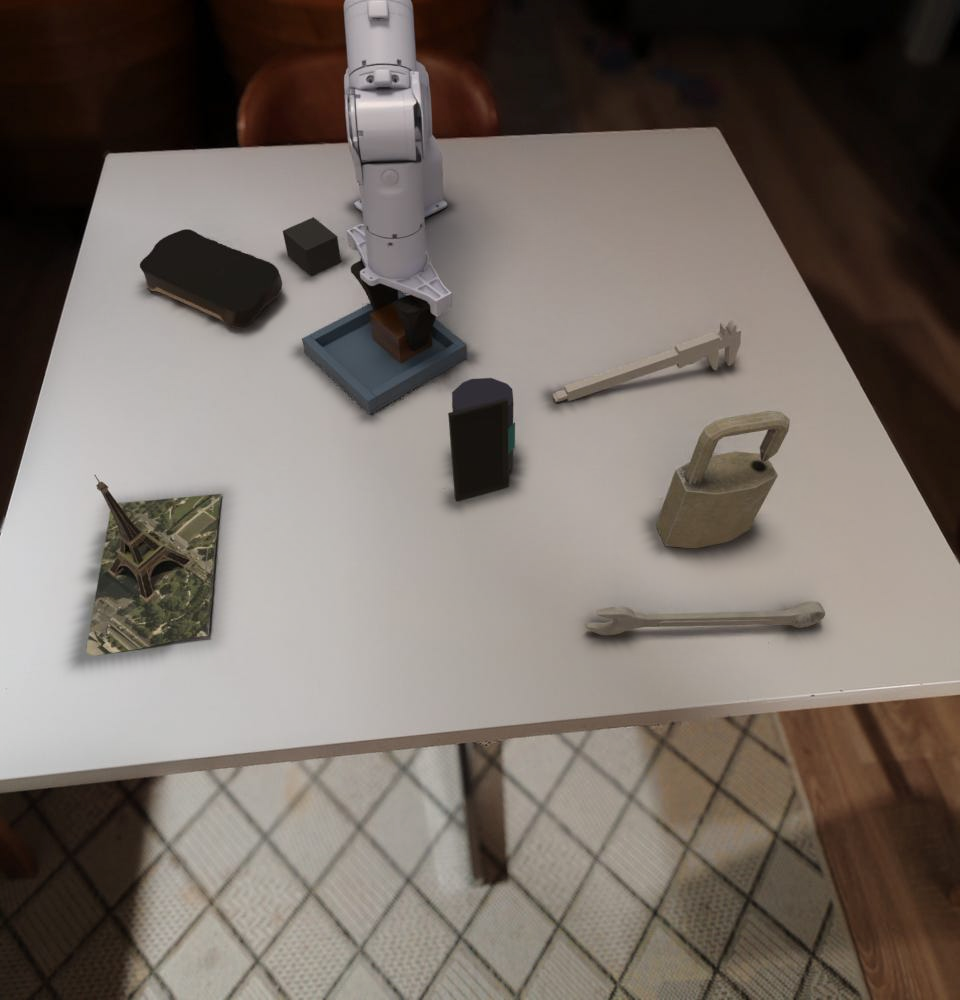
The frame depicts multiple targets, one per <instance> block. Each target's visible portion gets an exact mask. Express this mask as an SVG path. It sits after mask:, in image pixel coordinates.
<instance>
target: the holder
mask: <svg viewBox="0 0 960 1000" xmlns="http://www.w3.org/2000/svg"><path fill="white" fill-rule="evenodd" d="M407 295H408V294H406V293H405V292H402V291H400V290H398V299H399V298H401V297H405V296H407ZM373 312H374V311H373V308H372V306H371V303H370V302H369V303H368V304H366V305H364V306H362V307H360V308H358V309H357V310H355V311H353V312H350V313H349V314H347V315H345V316H343V317H341V318H339V319H337V320H335V321H333V322H331V323H329V324H327V325H325V326H323V327H321V328H319V329H318V330H315V331H314V332H311V333H310V334H308V335H306V336H304V337H302V338H301V341H302V346H303V352H304V354H305V355H306V356H308V357H309V358H310V359H311V360H312V361H313V362H314V363H315V365H317V366H318V367H319V368H320V369H321V370H322V371H323V372H324V373H325V374H327V375H328V376H329V378H331V379H332V380H333V381H334V382H335V383H336V384H337V385H338V386H339V387H340V388H341V389H342V390H343V391H344V392H346V394H348V396H350V397H351V398H352V400H354V401H355V402H356V403H357V404H358V405H359V406H360V407H361V408H362V409H363V410H364V411H365V412H366V413H367V414H368V415H372V414H374V413H376V412H377V411H379V410H380V409H382V408H384V407H386V406H387V405H390V404H391V403H393V402H394V401H397V400H398V399H400V398H401V397H403V396H405V395H406V394H408V393H410V392H411V391H413V390H415V389H417V388H418V387H421V386H422V385H423V384H425V383H427V382H429V381H430V380H432V379H433V378H435V377H438V376H439V375H440V374H442V373H444V372H446V371H447V370H449V369H451V368H452V367H454V366H456V365H457V364H459V363H461V362H463V361H465V360H466V359H467V358H468V344H467V343H466V342H465V341H463V340H462V339H461V338H460V337H459V336H457V335H456V334H455V333H454V332H452V331H451V330H450V329H449V328H447V327H446V326H445V325H444V324H442V323H441V322H440V321H439V320H438V319H437V318H436V319H435V322H434V325H433V327H432V344H433V346H431V347H430V348H428V349H426V350H424V351H422V352H421V353H419V354H417V355H415V356H414V357H412V358H410V359H408V360H407V361H405V362H403V363H401V364H400V363H399V362H398V361H397V360H396V359H395V358H394V357H392V356H391V355H390V354H389V353H388V352H387V351H386V350H384V349H383V348H382V347H381V346H380V345H379V344H378V343H376V342H375V341H374V340H373V335H372V327H371V319H370V314H371V313H373Z"/></svg>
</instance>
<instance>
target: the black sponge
mask: <svg viewBox="0 0 960 1000" xmlns="http://www.w3.org/2000/svg"><path fill="white" fill-rule="evenodd" d="M139 268H140V269H141V270H140V271H142V272H143V276H144V278H145V282H146V286H147V288H148V289H149V290H150V291H151V292H158V293H161V294H163V295H165V296H167V297H168V298H172V299H174V300H176V301H179V302H181V303H182V304H186V305H188V306H190V307H192V308H194V309H196V310H198V311H201V312H203V313H205V314H208V315H210V316H212V317H215V318H216V319H219V320H222V322H223V323H224V324H225V325H226V326H228V327H232V328H236V329H243V328H246V327H247V326H249V325H250V324H251V323H252V322H253V321H254V320H255V319H256V318H257V317H258V316H259V314H260V313H261V312H262V310H264V308H265V307H266V306H267V305H269V304H270V303H271V302H272V301H274V299H276V298H277V297H279V296H280V295H281V292H282V290H283V289H282V288H283V281H282V277H281V274H280V271H279V269H278V267H277V266H276V265H275V264H273V263H271V262H270V261H267V260H265V259H262V258H259V257H256V256H254V255H252V254H249V253H246V252H242V251H240V250H239V249H235V248H232V247H230V246H227V245H225V244H223V243H220V242H218V241H216V240H214V239H210V238H207V237H205V236H204V235H202V234H199V233H197V232H196V231H194V230H192V229H190V228H189V229H188V228H187V229H186V228H185V229H181V230H178V231H175V232H173V233H170V234H167V235H166V236H164V237H163V238H161V239H160V240H159V241H158V242H156V244H154V246H153V248H152V250H151V251H150V252H149V254H147V255H146V256H145V257H144V258H142V260H140V262H139Z"/></svg>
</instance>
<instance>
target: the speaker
mask: <svg viewBox="0 0 960 1000" xmlns="http://www.w3.org/2000/svg"><path fill="white" fill-rule="evenodd" d="M451 406H452V407H451V409H452V411H450V412H448V413H447V416H448V417H447V418H448V429H449V441H450V455H451V466H452V480H453V493H454V499H455V501H456V502H459V501H462V500H466V499H469V498H473V497H477V496H480V495H484V494H487V493H491V492H495V491H498V490H501V489H502V490H503V489H506V488H508V487H509V485H510V484H509V482H510V481H509V479H510V478H509V477H510V476H509V471H510V470H511V469H512V468H513V466H514V449H515V447H516V422H514V393H513V388H512V387H511V386H510V385H509V384H508V383H507V382H504V381H501V380H498V379H496V378H493V377H483V378H481V377H480V378H470V379H468V380H465V381H463V382H461V383H460V385H458V386H457V387H456V388H455V389H454V390H453V391H452V392H451Z"/></svg>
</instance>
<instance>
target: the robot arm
mask: <svg viewBox="0 0 960 1000" xmlns="http://www.w3.org/2000/svg"><path fill="white" fill-rule="evenodd" d="M413 5H414V4H413V2H412V0H344V3H343V18H344V19H343V20H344V29H345V30H344V33H345V45H346V46H345V47H346V59H347V68H346V69H345V74H344V77H343V85H344V86H343V89H344V113H345V115H344V116H345V126H346V135H347V143H348V149H349V153H350V156H351V159H352V163H353V167H354V173H355V180H356V183H357V184H358V186H359V195H360V199H359V200H357V201H355V202H354V203H353V204H354V205H353V206H354V207H355V208H356V209H357V210H358V211H360V212H361V213H362V222H363V223H360V224H358V225H355V226H354V227H351V228H348V229H347V230H346V237H347V243H348V245H347V246H348V247H349V248H350V249H351V250H353V251H357V253H358V255H359V256H360V258H359V259H360V260H359V261H356V262H354V263H353V264H352V265H351V266H350V272H351V274H352V275H353V276H354V278H355V279H356V281H358V283H359V284H360V286H361V288H362V289H363V291H364V292H365V295H366V296H367V299H368V301H369V304H370V303H371V306H372V308H373V311H376V310H378V309H380V308H382V307H384V306H386V305H388V304H390V303H392V302H393V307H394V308H395V309H396V311H397V312H398V314H399V315H400V317H401V320H402V322H403V325H404V328H405V334H406V339H407V343H408V345H409V347H410V349H411V350H412V351H416V350H418V349H420V348H422V347H424V346H425V345H427V344H428V342H429V338H430V334H431V331H432V327H433V325H434V322H435V319H436V320H437V317H439V316H441V315H444V314H445V313H447V312H448V311H450V310H452V309H453V293H452V291H450V290H449V289H448V288H447V287H446V286H445V285H444V282H443V281H442V280H441V278H440V275H439V274H438V272H437V271H436V268H435V266H434V265H433V264H432V262H431V260H430V258H429V255H428V254H427V247H426V246H427V244H426V243H427V242H426V224H425V221H426V220H425V218H426V217H429V216H431V215H433V214H435V213H437V212H439V211H441V210H444V209H445V208H447V207H448V202H447V201H446V200H445V199H444V173H443V171H444V170H443V154H442V151H441V148H440V145H439V143H438V140H437V139H436V137H435V136H434V135H433V115H432V113H433V112H432V97H431V87H430V79H429V78H430V77H429V72H428V71H427V70H426V69H427V68H426V67H425V65H423V64H422V63H421V62H419V61H418V60H417V52H416V38H415V37H416V35H415V34H416V33H415V19H414V18H415V17H414V6H413ZM398 290H400V291H402V292H403V293H404V294H406V295H407V296H405V297H403V298H401V299H399V300H397V299H398ZM395 300H397V301H395ZM394 301H395V302H394Z"/></svg>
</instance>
